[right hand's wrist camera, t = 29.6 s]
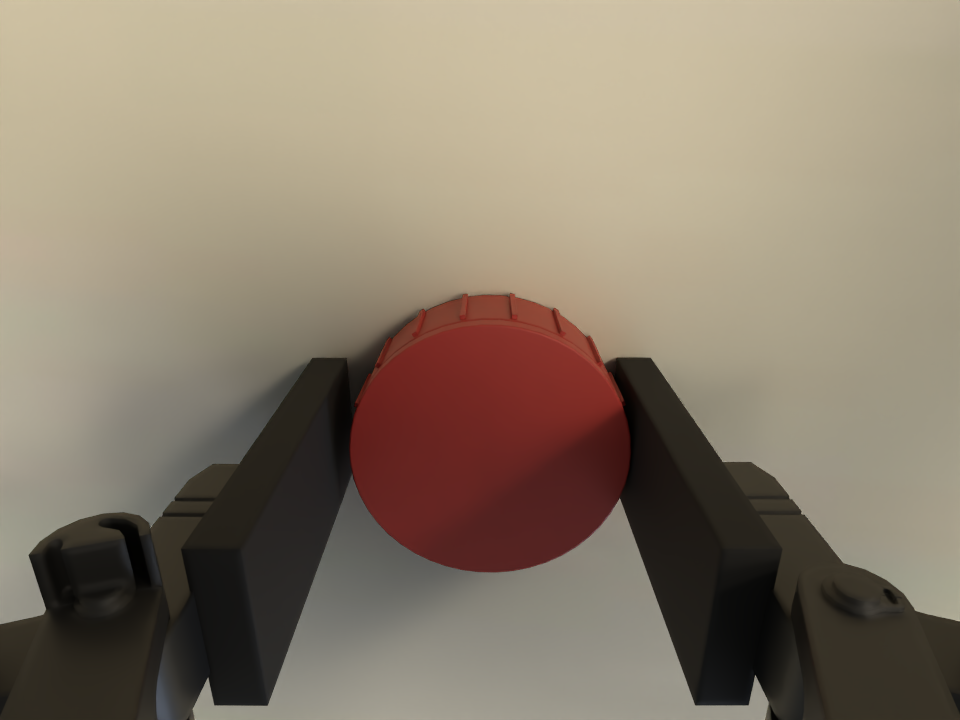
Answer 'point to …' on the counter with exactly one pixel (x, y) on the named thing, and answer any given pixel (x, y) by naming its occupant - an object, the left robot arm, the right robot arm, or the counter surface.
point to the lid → (490, 435)
